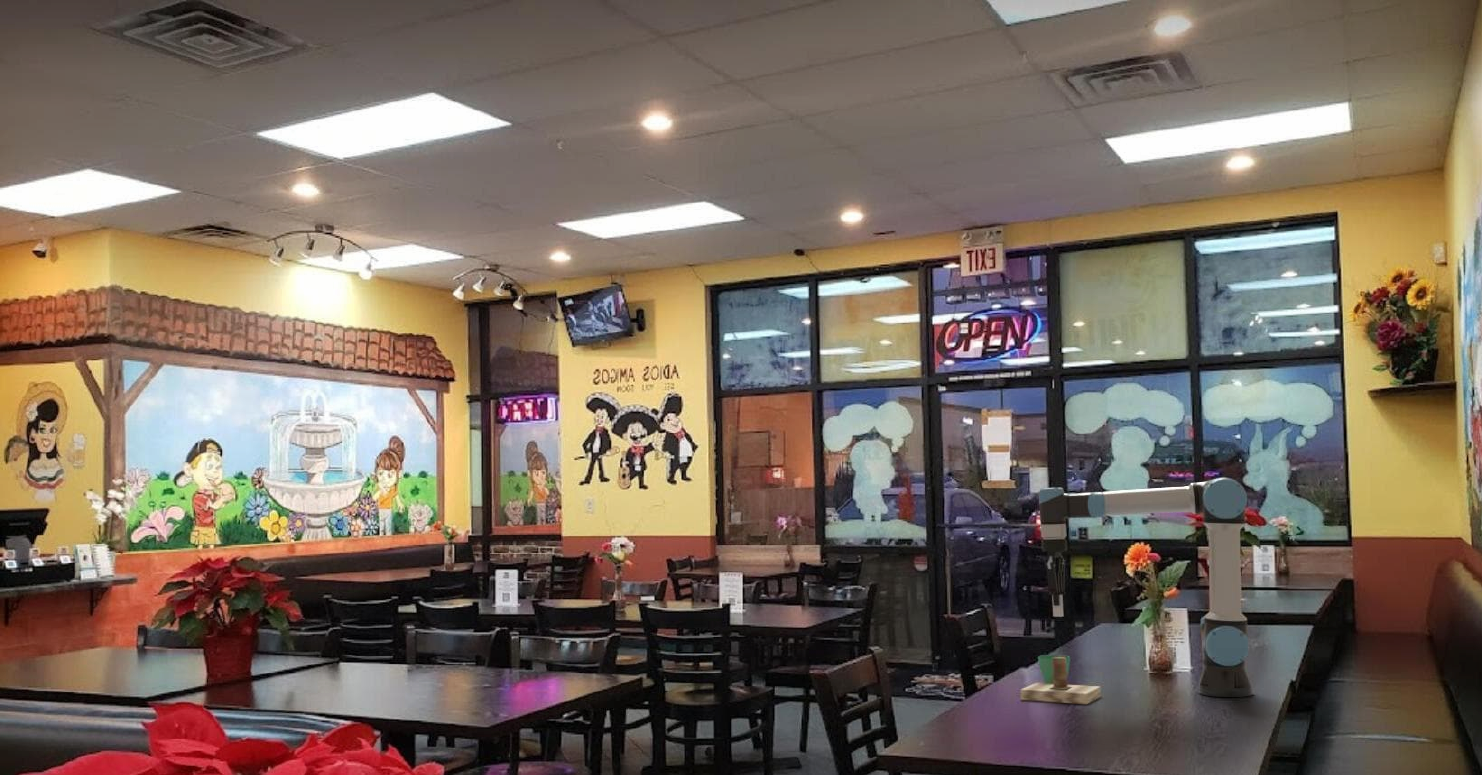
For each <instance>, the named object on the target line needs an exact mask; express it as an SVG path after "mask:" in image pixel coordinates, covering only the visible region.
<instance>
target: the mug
mask: <svg viewBox="0 0 1482 775" xmlns="http://www.w3.org/2000/svg"><path fill="white" fill-rule="evenodd" d="M1053 657H1065V658H1066V671H1067V677H1068V676H1069V669H1070V662H1071V656H1069V655H1065V654H1064V655H1063V654H1044V655H1043V654H1042V655H1039V656H1038V657H1037V661H1038V665H1039V669H1040V673H1041V676H1042V678H1043V681H1044V683H1049V684H1054V682H1053V664H1052V658H1053Z"/></svg>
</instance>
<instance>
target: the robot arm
mask: <svg viewBox="0 0 1482 775" xmlns="http://www.w3.org/2000/svg"><path fill="white" fill-rule="evenodd" d="M1247 502H1248V496H1247V492H1246V489H1244V486H1243V485H1242V484H1241V483H1240V482H1238V481H1237V480H1235V479H1233V478H1230V477H1225V476H1224V477H1216V478H1213V479H1210V480H1206V481H1201V482H1200V481H1199V482H1190V483H1189V484H1188V486H1175V487H1161V488H1160V487H1158V488H1145V489H1143V488H1142V489H1127V490H1125V489H1124V490H1112V491H1111V490H1109V491H1095V492H1093V491H1091V492H1090V491H1089V492H1087V491H1085V492H1080V493H1079V492H1078V493H1065V491H1064V488H1063V487H1044V488H1043V487H1042V488H1041V489H1040V490H1039V491H1038V509H1039V510H1038V511H1039V520H1040V521H1039V522H1040V527H1039V531H1040V537H1041V538H1043V539H1041V540H1040V542H1041V551H1042V552H1043V553H1044V552H1047V558H1046V562H1044V567H1045V572H1046V579H1047V586H1048V595H1050V596H1051V602H1052V613H1053V614H1052V616H1053V617H1055V618H1056V617H1059V618H1061V617H1064V600H1063V595H1066V589H1065V586H1066V584H1065V583H1066V581H1065V579H1066V563H1067V562H1066V560H1065V559H1064V557H1063V554H1062V552H1067V551H1068V542H1067V541H1068V540H1067V538H1066V537H1067V536H1068V535H1067V527H1066V526H1067V525H1066V523H1067V522H1066V519H1088V518H1089V519H1090V518H1091V519H1097V518H1104V517H1105V516H1124V515H1143V514H1144V515H1145V514H1147V515H1148V514H1161V513H1162V514H1164V513H1166V514H1167V513H1183V512H1191V514H1192V515H1202V524H1203V526H1205V527H1206V528H1207V529H1208V567H1209V568H1208V570H1209V571H1208V574H1209V576H1208V577H1209V578H1208V579H1209V580H1208V582H1209V587H1208V588H1209V612H1208V613H1206V614H1205V615H1204V616H1202V617H1201V619H1200V625H1199V626H1200V631H1201V633H1200V634H1201V648H1202V662H1203V664H1202V665H1203V667H1202V672H1201V676H1200V678H1199V682H1198V693H1199V694H1201V695H1204V696H1209V697H1215V698H1216V697H1217V698H1241V697H1242V698H1243V697H1250V696H1252V695H1254V689H1253V688H1254V687H1253V685H1252V682H1251V680H1250V678H1249V674H1248V672H1247V669H1246V666H1245V665H1246V664H1245V660H1246V658H1247V656H1248V655H1249V652H1250V642H1249V638H1248V618H1247V617H1246V616H1245V615H1244V614H1243V613H1242V578H1241V577H1242V576H1241V574H1242V573H1241V570H1242V569H1241V568H1242V567H1241V529H1242V528H1244V527H1245V526H1246V506H1247Z"/></svg>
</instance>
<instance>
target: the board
mask: <svg viewBox="0 0 1482 775" xmlns="http://www.w3.org/2000/svg"><path fill="white" fill-rule="evenodd" d="M1067 687H1068V688H1067V689H1068V690H1058V689H1054V684H1049V683H1045V682H1034V683H1033V684H1030V685H1028V686H1026V687H1023V688H1021V689H1020V699H1021V701H1037V702H1047V703H1048V702H1049V703H1065V704H1078V705H1088V704H1090V703H1092V702H1093V701H1096V700H1098V699H1100V698H1101V697H1102V692H1101V691H1102V689H1101V686H1097V685H1096V686H1095V685H1084V684H1083V685H1081V684H1080V685H1079V684H1067Z"/></svg>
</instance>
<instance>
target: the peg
mask: <svg viewBox="0 0 1482 775" xmlns="http://www.w3.org/2000/svg"><path fill="white" fill-rule="evenodd" d="M1052 664H1053V682H1054V689H1058V690H1068V689H1067V688H1068V687H1067V685H1068V676H1067V671H1066V658H1065V657H1053V658H1052Z"/></svg>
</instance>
